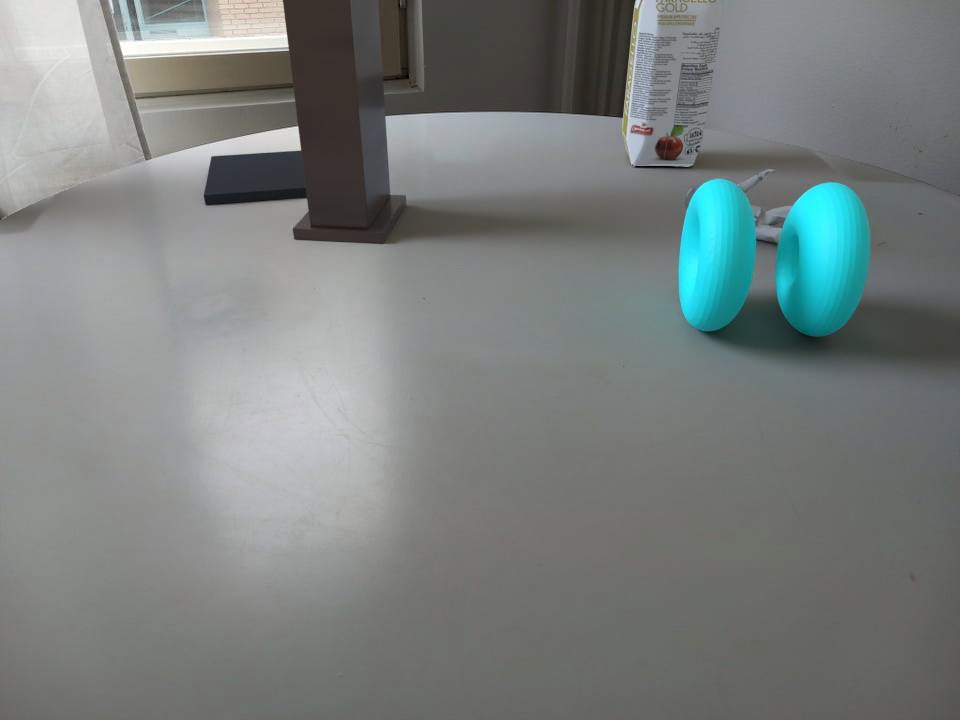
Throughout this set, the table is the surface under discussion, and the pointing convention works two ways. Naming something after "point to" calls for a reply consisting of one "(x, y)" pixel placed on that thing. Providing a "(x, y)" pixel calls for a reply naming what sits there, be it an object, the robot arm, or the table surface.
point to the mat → (255, 177)
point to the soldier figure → (758, 210)
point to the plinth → (341, 120)
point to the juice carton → (669, 79)
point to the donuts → (799, 260)
